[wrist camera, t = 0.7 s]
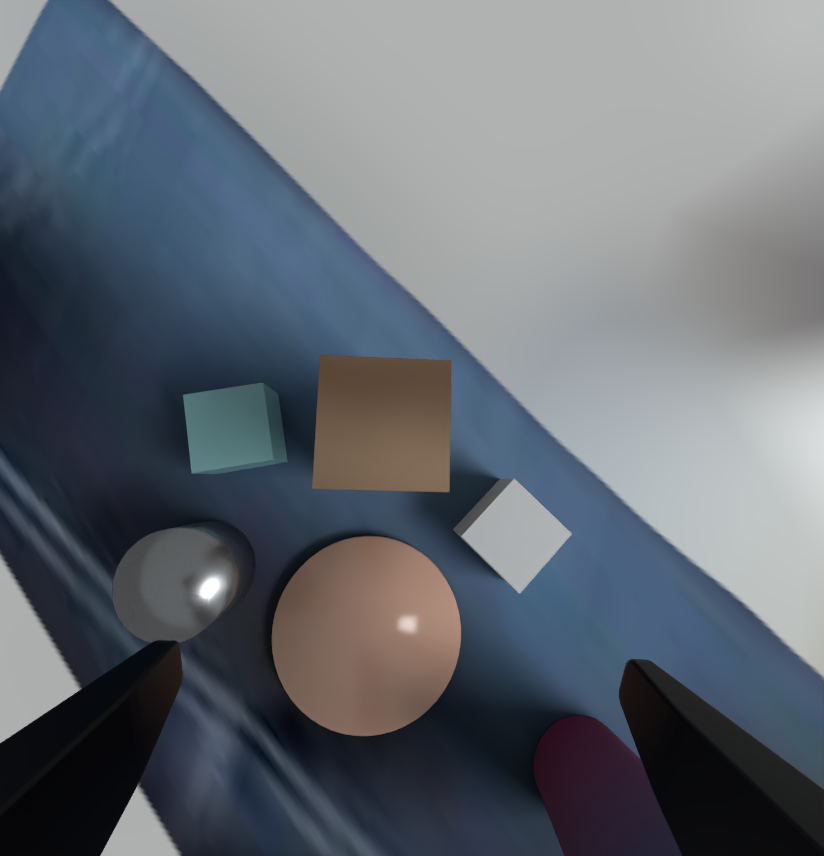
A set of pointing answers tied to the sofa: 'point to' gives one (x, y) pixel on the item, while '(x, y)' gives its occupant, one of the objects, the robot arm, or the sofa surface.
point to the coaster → (366, 635)
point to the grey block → (512, 533)
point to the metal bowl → (182, 580)
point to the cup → (598, 793)
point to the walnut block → (383, 424)
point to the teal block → (234, 429)
